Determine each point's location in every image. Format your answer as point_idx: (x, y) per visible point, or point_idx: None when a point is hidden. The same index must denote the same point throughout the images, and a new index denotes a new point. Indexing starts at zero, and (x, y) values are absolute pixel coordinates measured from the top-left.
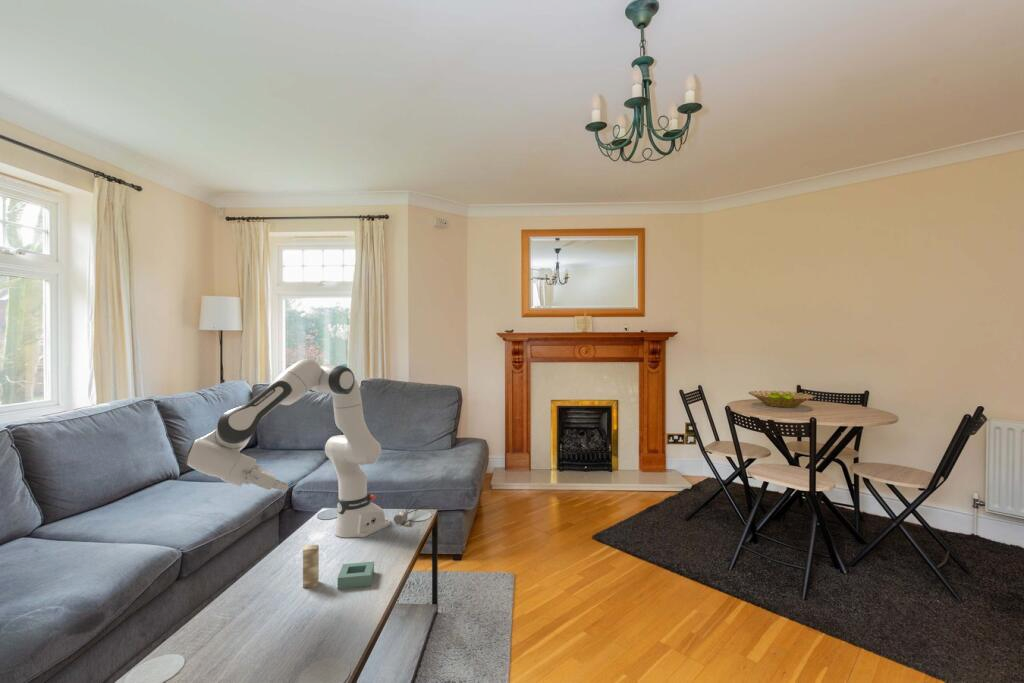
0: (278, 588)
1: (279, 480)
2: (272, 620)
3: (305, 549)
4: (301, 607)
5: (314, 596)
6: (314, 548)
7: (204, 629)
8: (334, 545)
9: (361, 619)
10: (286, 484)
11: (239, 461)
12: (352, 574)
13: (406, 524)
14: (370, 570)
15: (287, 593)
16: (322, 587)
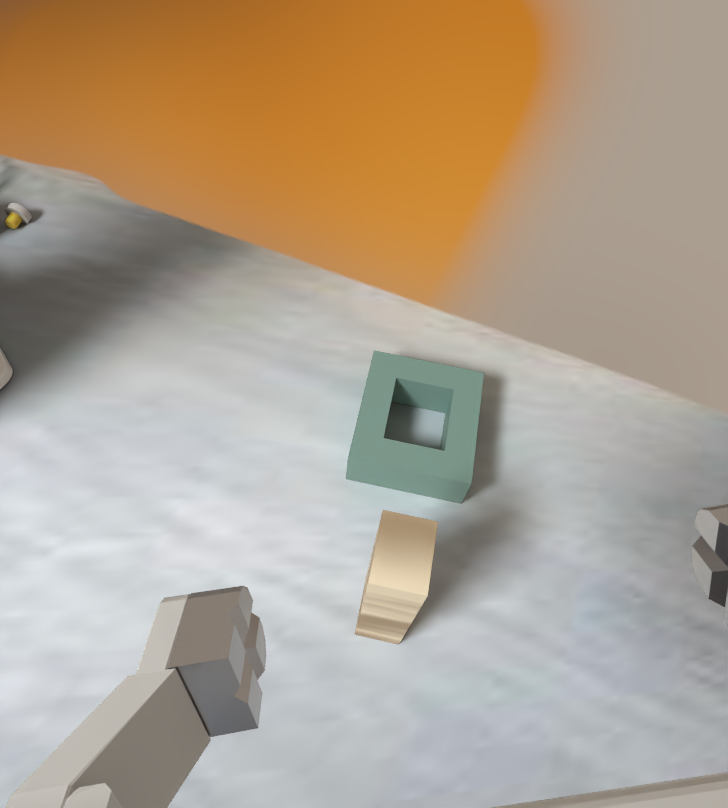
0: (362, 769)
1: (114, 735)
2: (646, 765)
3: (427, 581)
4: (566, 642)
5: (491, 591)
6: (430, 531)
7: None
8: (9, 500)
9: (679, 442)
10: (244, 597)
11: None
12: (458, 429)
13: (18, 219)
14: (447, 369)
15: (429, 715)
16: None
